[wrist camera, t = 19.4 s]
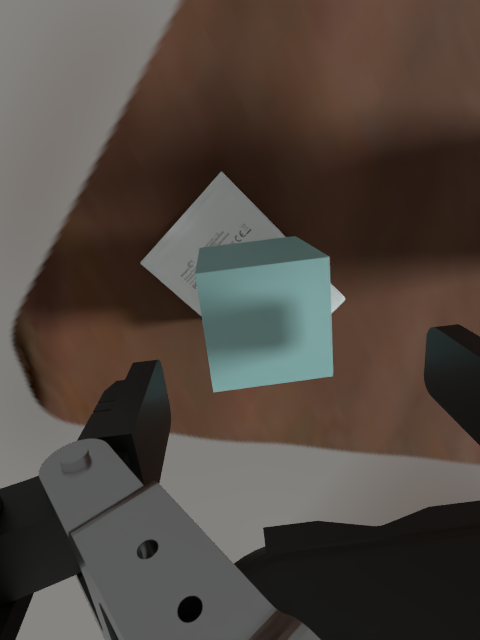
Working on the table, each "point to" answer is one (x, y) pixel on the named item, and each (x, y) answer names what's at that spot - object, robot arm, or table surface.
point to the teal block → (265, 312)
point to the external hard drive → (210, 238)
